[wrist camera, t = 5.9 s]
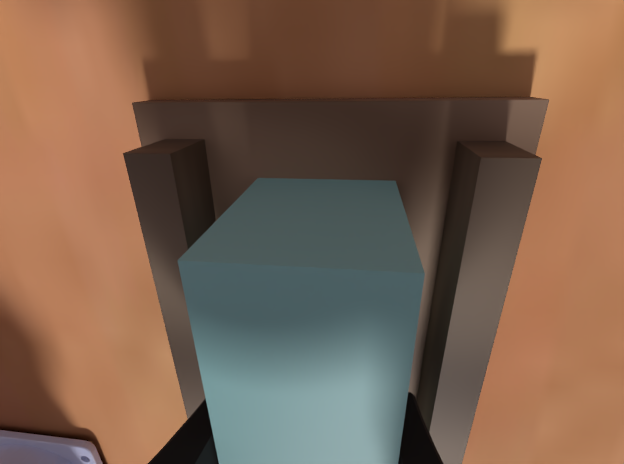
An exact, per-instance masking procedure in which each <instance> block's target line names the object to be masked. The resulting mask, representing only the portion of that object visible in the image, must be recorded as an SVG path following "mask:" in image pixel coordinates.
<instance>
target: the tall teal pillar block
mask: <svg viewBox="0 0 624 464" xmlns="http://www.w3.org/2000/svg"><path fill="white" fill-rule="evenodd" d="M177 261H178V266H179V271H180V276H181V280H182V285H183V290H184V295H185V300H186V305H187V310H188V315H189V320H190V324H191V329H192V334H193V339H194V344H195V349H196V354H197V359H198V364H199V369H200V373H201V378H202V383H203V388H204V393H205V398H206V403H207V408H208V413H209V417H210V422H211V427H212V432H213V437H214V442H215V447H216V452H217V457H218V461H219V464H398V461H399V454H400V447H401V440H402V433H403V426H404V418H405V411H406V404H407V397H408V390H409V383H410V376H411V369H412V361H413V354H414V347H415V340H416V333H417V326H418V319H419V312H420V304H421V297H422V290H423V283H424V276H425V272H424V269H423V266H422V263H421V260H420V256H419V253H418V250H417V247H416V244H415V241H414V238H413V234H412V231H411V228H410V225H409V222H408V219H407V215H406V212H405V209H404V206H403V203H402V200H401V196H400V193H399V190H398V187H397V184H396V181H386V180H337V179H288V178H257V179H256V180H255V181H254V182H253V183H252V184H251V186H250V187H249V188H248V189H247V190H246V191H245V192H244V193H243V194H242V195H241V196H240V197H239V198H238V199H237V200H236V201H235V202H234V203H233V204H232V205H231V206H230V207H229V208H228V209H227V210H226V211H225V212H224V213H223V214H222V215H221V216H220V217H219V218H218V219H217V220H216V221H215V222H214V223H213V225H212V226H211V227H210V228H209V229H208V230H207V231H206V232H205V233H204V234H203V235H202V236H201V237H200V238H199V239H198V240H197V241H196V242H195V243H194V244H193V245H192V246H191V247H190V248H189V249H188V250H187V251H186V252H185V253H184V254H183V255H182V256H181V257H180V258H179V259H178V260H177Z"/></svg>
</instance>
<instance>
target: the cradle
mask: <svg viewBox="0 0 624 464" xmlns="http://www.w3.org/2000/svg"><path fill="white" fill-rule="evenodd" d="M548 103H549V100H548V99H541V98H535V97H470V98H349V99H229V100H149V101H141V102H134V103H132V105H133V109H134V114H135V118H136V123H137V127H138V132H139V137H140V141H141V146H142V147H140V148H137V149H134V150H131V151H129V152H126V153H123V155H124V159H125V163H126V167H127V171H128V175H129V180H130V184H131V188H132V192H133V196H134V200H135V204H136V208H137V212H138V217H139V221H140V225H141V229H142V233H143V237H144V241H145V245H146V249H147V254H148V258H149V262H150V266H151V270H152V274H153V278H154V282H155V286H156V290H157V295H158V299H159V303H160V307H161V311H162V315H163V319H164V323H165V327H166V332H167V336H168V340H169V344H170V348H171V352H172V356H173V360H174V364H175V369H176V373H177V377H178V381H179V385H180V389H181V393H182V397H183V401H184V406H185V410H186V414H187V418H188V419H189V417H190V416H191V415H192V414H193V413H194V411H195V410H196V409H197V408H198V407H199V405H200V404H201V403H202V402H203V401H204V399H205V393H204V388H203V383H202V378H201V373H200V369H199V364H198V359H197V354H196V349H195V344H194V339H193V334H192V329H191V324H190V320H189V315H188V310H187V305H186V300H185V295H184V290H183V285H182V280H181V276H180V271H179V266H178V261H177V260H178V259H179V258H180V257H181V256H182V255H183V254H184V253H185V252H186V251H187V250H188V249H189V248H190V247H191V246H192V245H193V244H194V243H195V242H196V241H197V240H198V239H199V238H200V237H201V236H202V235H203V234H204V233H205V232H206V231H207V230H208V229H209V228H210V227H211V226H212V225H213V223H214V222H215V221H216V220H217V219H218V218H219V217H220V216H221V215H222V214H223V213H224V212H225V211H226V210H227V209H228V208H229V207H230V206H231V205H232V204H233V203H234V202H235V201H236V200H237V199H238V198H239V197H240V196H241V195H242V194H243V193H244V192H245V191H246V190H247V189H248V188H249V187H250V186H251V184H252V183H253V182H254V181H255V180H256V179H257V178H288V179H337V180H386V181H396V184H397V187H398V190H399V193H400V196H401V200H402V203H403V206H404V209H405V212H406V215H407V219H408V222H409V225H410V228H411V231H412V234H413V238H414V241H415V244H416V247H417V250H418V253H419V256H420V260H421V263H422V266H423V269H424V272H425V276H424V283H423V290H422V297H421V304H420V312H419V319H418V326H417V333H416V340H415V347H414V354H413V361H412V369H411V376H410V383H409V390H408V392H411V393H412V394H413V395H414V396H415V398H416V401H417V404H418V406H419V409H420V412H421V414H422V417H423V419H424V422H425V424H426V426H427V429H428V431H429V433H430V436H431V438H432V440H433V442H434V444H435V447H436V449H437V451H438V453H439V455H440V457H441V459H442V461H443V463H444V464H462V461H463V457H464V453H465V449H466V446H467V442H468V438H469V434H470V430H471V427H472V423H473V419H474V415H475V411H476V408H477V404H478V400H479V396H480V392H481V388H482V385H483V381H484V377H485V373H486V369H487V366H488V362H489V358H490V354H491V350H492V347H493V343H494V339H495V335H496V331H497V328H498V324H499V320H500V316H501V312H502V309H503V305H504V301H505V297H506V293H507V290H508V286H509V282H510V278H511V274H512V270H513V267H514V263H515V259H516V255H517V251H518V248H519V244H520V240H521V236H522V232H523V229H524V225H525V221H526V217H527V213H528V210H529V206H530V202H531V198H532V194H533V191H534V187H535V183H536V179H537V175H538V171H539V168H540V164H541V160H542V158H540V157H538V156H536V155H535V154H536V150H537V146H538V142H539V138H540V134H541V130H542V126H543V122H544V118H545V114H546V110H547V107H548Z"/></svg>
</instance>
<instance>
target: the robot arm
mask: <svg viewBox="0 0 624 464" xmlns="http://www.w3.org/2000/svg"><path fill="white" fill-rule="evenodd" d="M0 464H103V463H102V461H101V459H100V456H99V454H98V452H97V449H96V447H95V445H94V444H93V443H91V442H89V441H86V440H78V439H70V438H62V437H54V436H46V435H38V434H30V433H21V432H13V431H5V430H0ZM148 464H219V461H218V457H217V452H216V447H215V442H214V437H213V432H212V427H211V422H210V417H209V413H208V408H207V403H206V398H205V399H204V401H203V402H202V403H201V404H200V405H199V407H198V408H197V409H196V410H195V411H194V413H193V414H192V415H191V416H190V417H189V419H188V420H187V421H186V422H185V423H184V424H183V425H182V427H181V428H180V429H179V430H178V431H177V432H176V433H175V435H174V436H173V437H172V438H171V439H170V440H169V441H168V443H167V444H166V445H165V446H164V447H163V448H162V449H161V450H160V451H159V452H158V454H157V455H156V456H155V457H154V458H153V459H152V460H151V461H150V462H149V463H148ZM398 464H444V463H443V461H442V459H441V457H440V455H439V453H438V451H437V449H436V447H435V444H434V442H433V440H432V438H431V436H430V433H429V431H428V429H427V426H426V424H425V422H424V419H423V417H422V414H421V412H420V409H419V406H418V404H417V401H416V398H415V396H414V395H413V394H412V393H411V392H408V397H407V404H406V411H405V418H404V426H403V433H402V440H401V447H400V454H399V461H398Z"/></svg>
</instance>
